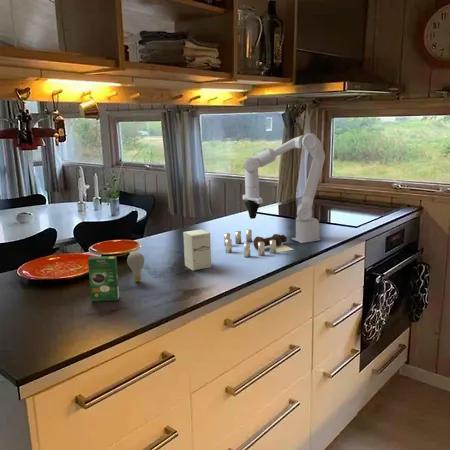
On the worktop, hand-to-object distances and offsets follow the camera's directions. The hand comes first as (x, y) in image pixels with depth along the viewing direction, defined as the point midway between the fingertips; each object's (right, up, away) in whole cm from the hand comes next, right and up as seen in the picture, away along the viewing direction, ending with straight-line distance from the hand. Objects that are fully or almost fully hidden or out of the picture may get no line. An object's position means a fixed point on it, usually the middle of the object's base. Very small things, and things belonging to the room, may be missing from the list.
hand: (252, 218), depth 194 cm
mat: (+8, -11, -7) cm, 16 cm away
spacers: (-4, -13, -13) cm, 18 cm away
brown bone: (+7, -12, -10) cm, 17 cm away
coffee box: (-47, -25, -60) cm, 80 cm away
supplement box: (-21, -18, -32) cm, 42 cm away
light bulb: (-40, -21, -45) cm, 64 cm away
